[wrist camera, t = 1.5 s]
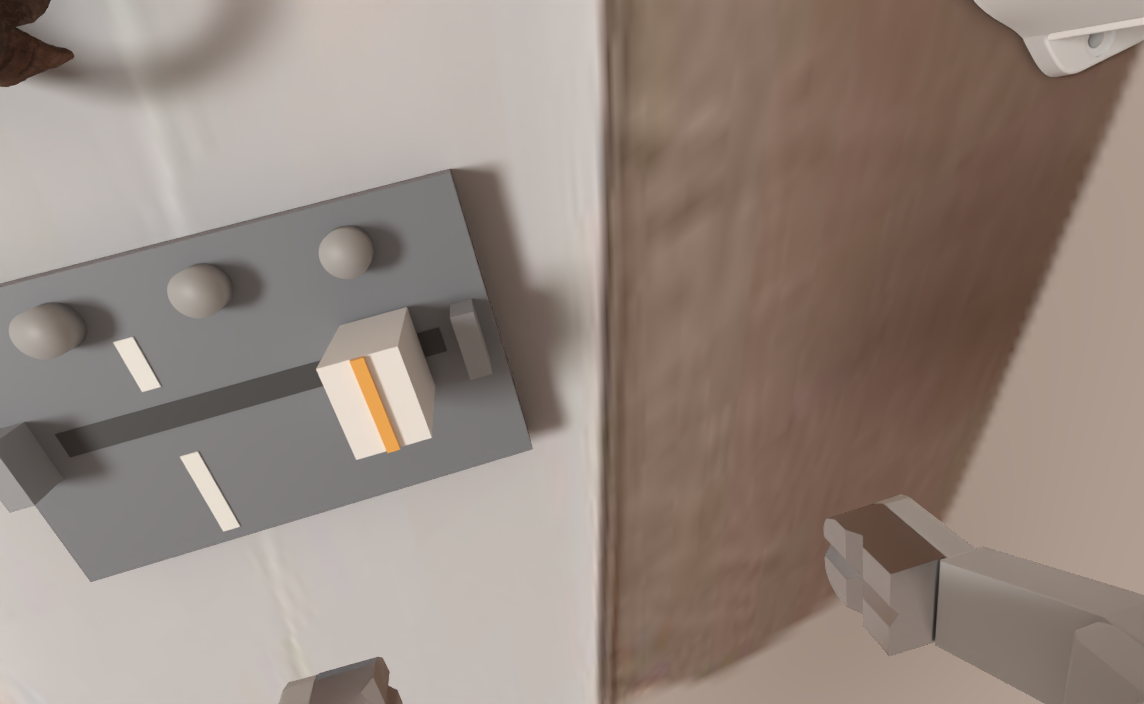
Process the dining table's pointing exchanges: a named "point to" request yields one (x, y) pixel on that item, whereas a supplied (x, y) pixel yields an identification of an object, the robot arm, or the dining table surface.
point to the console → (240, 375)
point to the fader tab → (379, 383)
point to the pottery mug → (25, 43)
